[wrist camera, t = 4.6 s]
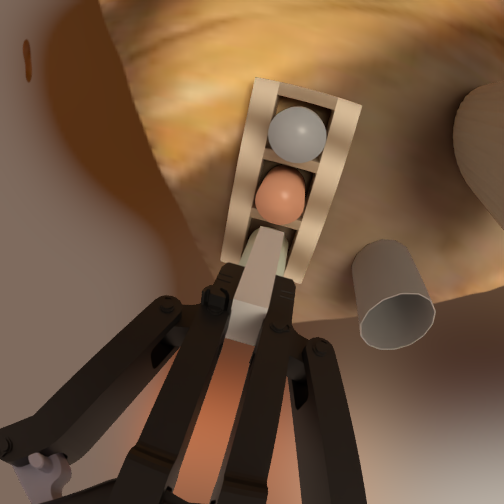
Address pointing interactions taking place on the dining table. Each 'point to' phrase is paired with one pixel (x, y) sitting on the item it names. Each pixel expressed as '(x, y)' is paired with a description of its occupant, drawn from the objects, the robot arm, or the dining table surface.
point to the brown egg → (281, 195)
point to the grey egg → (297, 134)
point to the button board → (260, 149)
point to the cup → (390, 296)
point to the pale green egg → (281, 259)
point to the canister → (482, 145)
